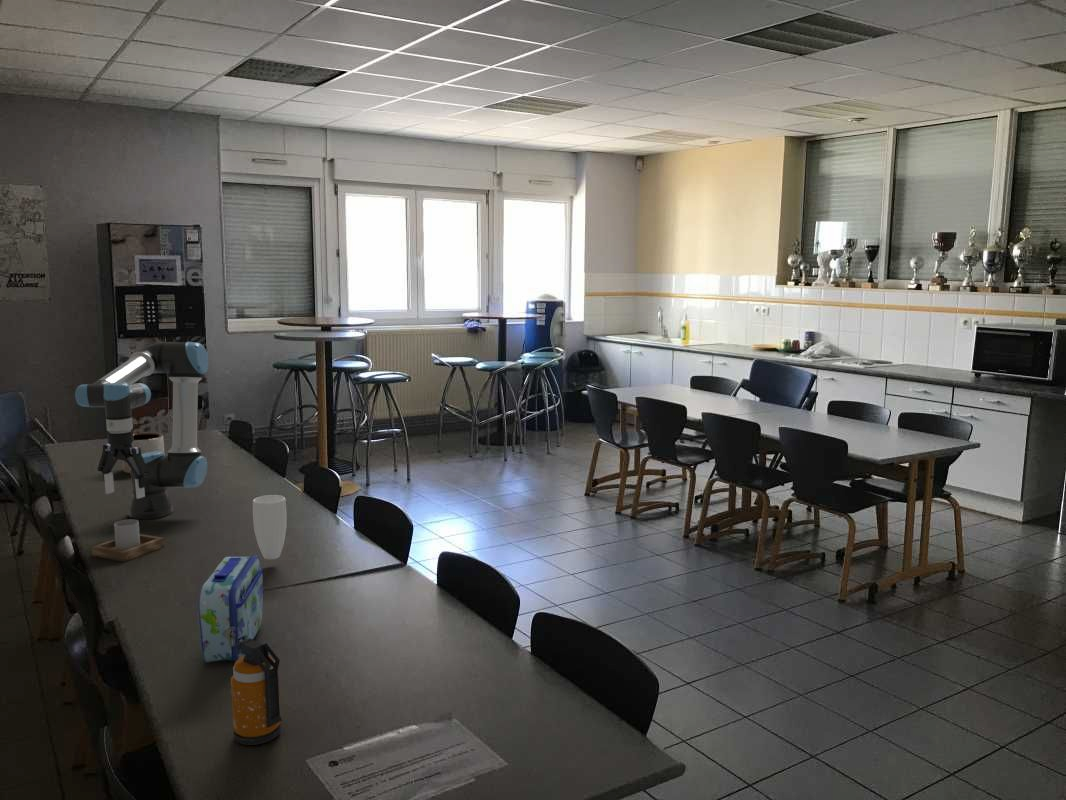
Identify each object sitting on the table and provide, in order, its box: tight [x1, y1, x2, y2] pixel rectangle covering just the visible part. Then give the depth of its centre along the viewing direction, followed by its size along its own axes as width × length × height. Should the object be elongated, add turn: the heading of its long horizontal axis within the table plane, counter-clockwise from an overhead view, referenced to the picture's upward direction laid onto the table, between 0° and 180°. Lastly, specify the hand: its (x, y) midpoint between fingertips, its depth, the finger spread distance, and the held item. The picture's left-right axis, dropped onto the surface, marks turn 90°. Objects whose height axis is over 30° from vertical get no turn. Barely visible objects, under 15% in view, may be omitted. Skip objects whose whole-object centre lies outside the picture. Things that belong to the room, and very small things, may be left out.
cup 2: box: [252, 494, 288, 560], centre depth 263 cm, size 10×10×22 cm
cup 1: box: [113, 518, 141, 551], centre depth 277 cm, size 7×10×9 cm
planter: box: [121, 432, 166, 475], centre depth 384 cm, size 18×18×16 cm
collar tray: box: [91, 533, 165, 563], centre depth 277 cm, size 16×14×3 cm
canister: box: [230, 638, 283, 746], centre depth 168 cm, size 9×11×20 cm
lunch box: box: [198, 554, 264, 663], centre depth 208 cm, size 26×11×21 cm, turn 5°
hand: (125, 495), depth 275 cm, fingers open, 13 cm apart
